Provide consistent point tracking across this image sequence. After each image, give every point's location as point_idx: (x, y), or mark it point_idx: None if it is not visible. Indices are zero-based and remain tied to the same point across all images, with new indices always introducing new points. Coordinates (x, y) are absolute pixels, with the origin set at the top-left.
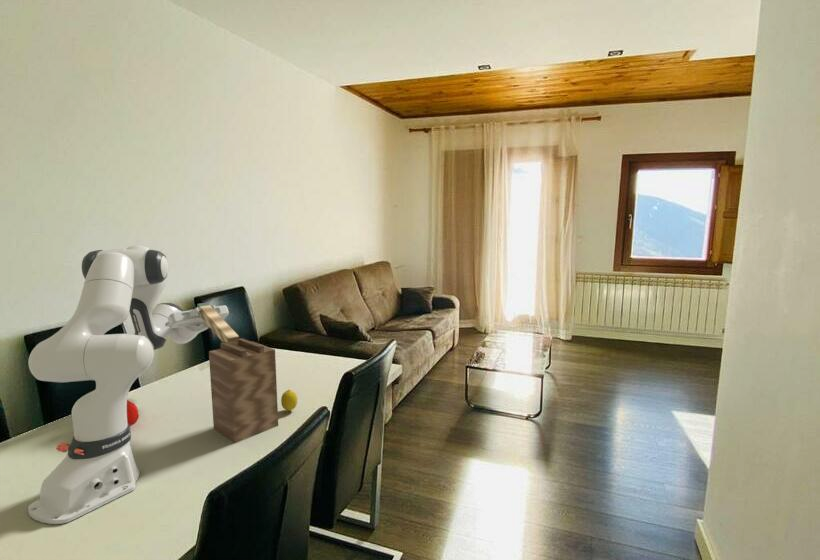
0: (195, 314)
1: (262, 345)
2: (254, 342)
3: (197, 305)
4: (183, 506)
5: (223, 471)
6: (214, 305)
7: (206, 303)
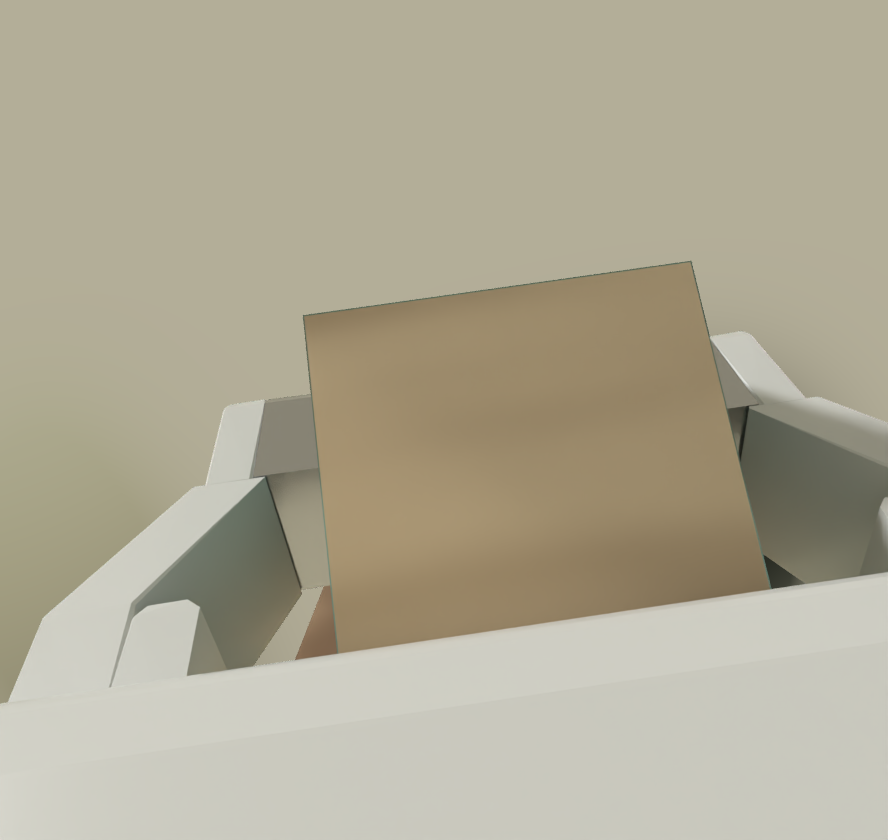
0: (805, 554)
1: (321, 606)
2: (302, 653)
3: (697, 323)
4: None
5: None
6: (243, 410)
7: (372, 329)
